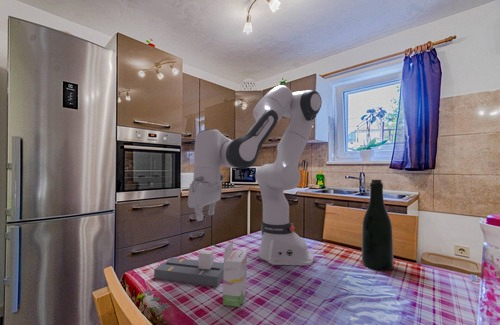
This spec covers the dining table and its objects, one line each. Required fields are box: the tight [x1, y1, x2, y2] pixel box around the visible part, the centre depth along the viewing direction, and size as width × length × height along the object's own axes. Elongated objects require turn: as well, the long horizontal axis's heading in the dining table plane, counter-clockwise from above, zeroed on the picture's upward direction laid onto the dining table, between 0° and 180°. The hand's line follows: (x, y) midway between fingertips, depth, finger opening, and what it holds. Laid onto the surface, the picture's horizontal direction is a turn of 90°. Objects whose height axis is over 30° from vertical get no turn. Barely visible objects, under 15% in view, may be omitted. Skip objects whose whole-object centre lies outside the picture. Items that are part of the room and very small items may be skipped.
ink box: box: [222, 240, 248, 308], centre depth 62 cm, size 9×5×15 cm, turn 168°
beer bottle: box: [361, 178, 394, 272], centre depth 85 cm, size 10×10×33 cm
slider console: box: [153, 257, 224, 288], centre depth 75 cm, size 22×10×3 cm, turn 78°
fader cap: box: [198, 249, 214, 270], centre depth 74 cm, size 4×3×6 cm
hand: (205, 217), depth 74 cm, fingers open, 8 cm apart
